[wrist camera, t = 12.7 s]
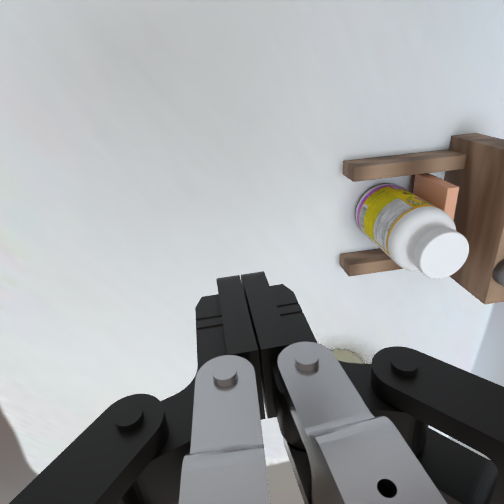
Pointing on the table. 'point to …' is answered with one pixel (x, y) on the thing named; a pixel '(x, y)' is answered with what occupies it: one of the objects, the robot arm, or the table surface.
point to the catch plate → (436, 192)
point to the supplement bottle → (412, 231)
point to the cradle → (466, 212)
